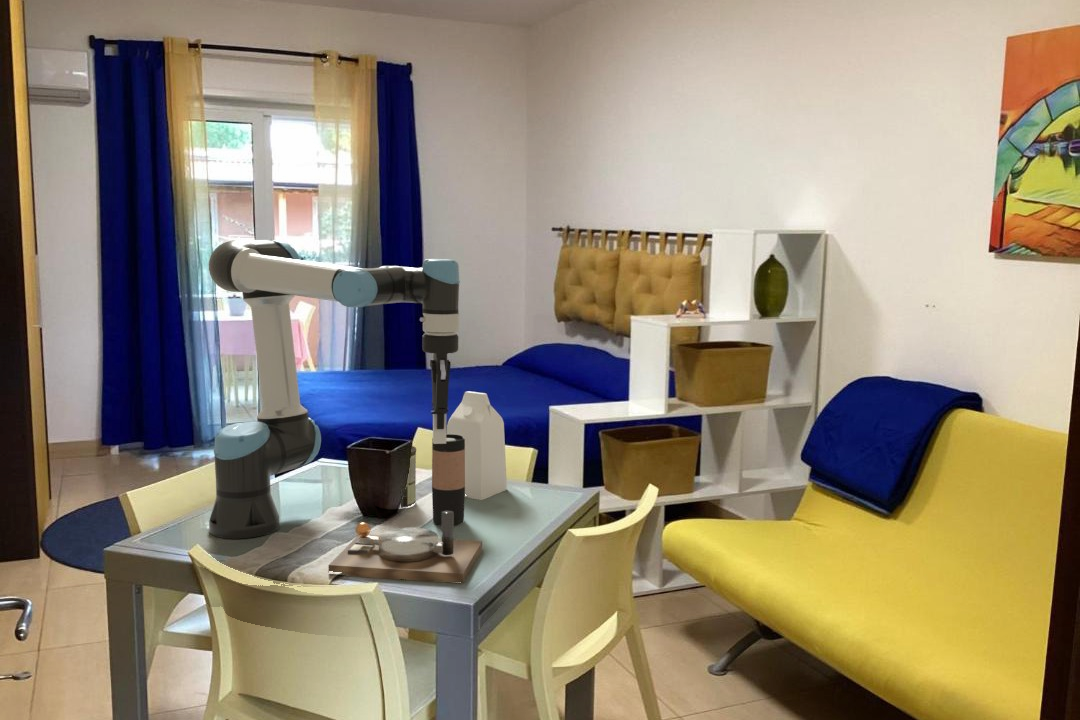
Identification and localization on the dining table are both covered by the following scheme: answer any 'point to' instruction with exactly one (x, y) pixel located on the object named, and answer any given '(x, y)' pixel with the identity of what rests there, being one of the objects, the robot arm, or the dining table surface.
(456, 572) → the stand
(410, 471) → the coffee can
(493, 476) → the milk
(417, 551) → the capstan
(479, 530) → the dining table surface
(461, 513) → the travel mug
